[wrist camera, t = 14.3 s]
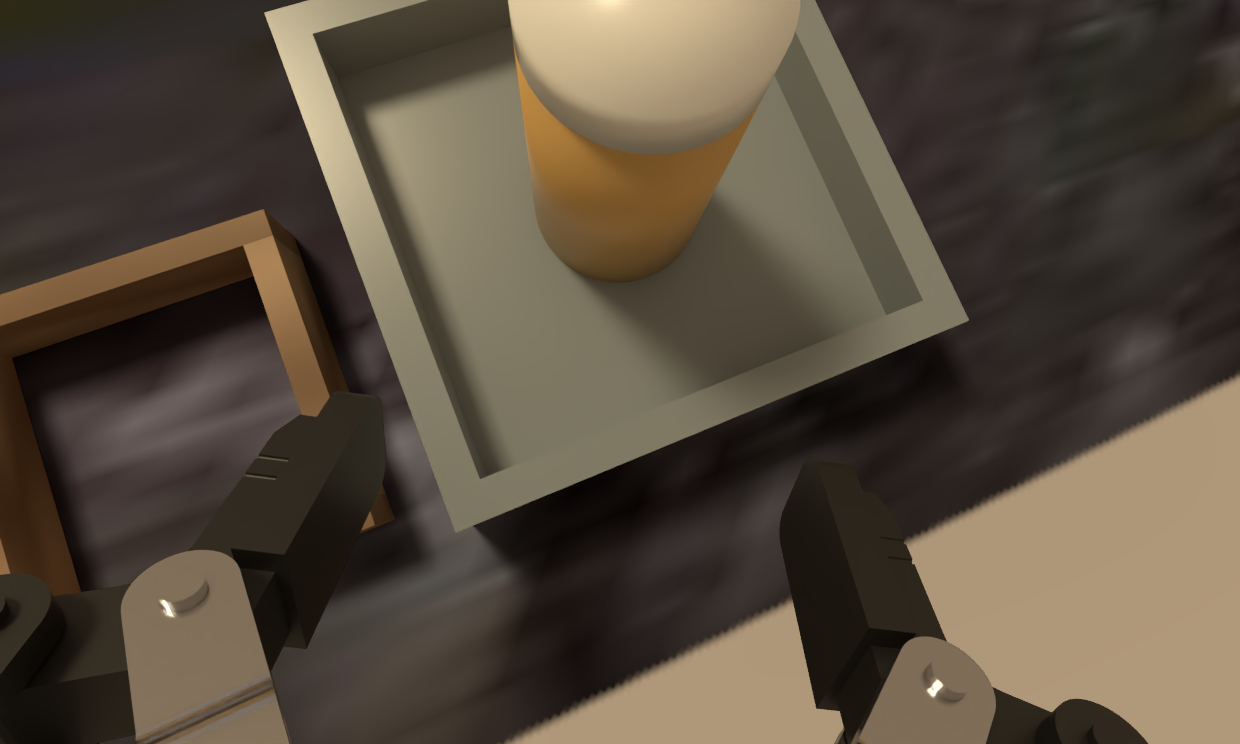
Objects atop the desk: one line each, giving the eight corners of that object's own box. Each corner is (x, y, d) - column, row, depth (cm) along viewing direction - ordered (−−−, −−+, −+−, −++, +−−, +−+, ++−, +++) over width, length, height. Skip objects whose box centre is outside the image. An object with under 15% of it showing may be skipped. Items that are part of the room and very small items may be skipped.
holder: (-26, 342, 18) (-97, 326, 16) (293, 236, 19) (263, 209, 17) (65, 653, 17) (0, 676, 15) (394, 519, 18) (374, 525, 16)
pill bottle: (510, 157, 20) (461, -103, 11) (659, 107, 20) (730, -179, 11) (570, 305, 19) (572, 158, 10) (722, 248, 20) (847, 64, 11)
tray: (304, 75, 20) (264, 12, 18) (730, -52, 22) (754, -126, 20) (471, 524, 19) (455, 533, 16) (914, 341, 21) (968, 320, 18)
